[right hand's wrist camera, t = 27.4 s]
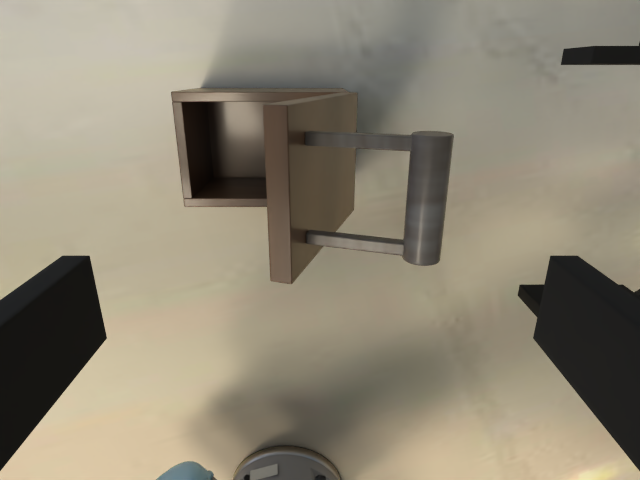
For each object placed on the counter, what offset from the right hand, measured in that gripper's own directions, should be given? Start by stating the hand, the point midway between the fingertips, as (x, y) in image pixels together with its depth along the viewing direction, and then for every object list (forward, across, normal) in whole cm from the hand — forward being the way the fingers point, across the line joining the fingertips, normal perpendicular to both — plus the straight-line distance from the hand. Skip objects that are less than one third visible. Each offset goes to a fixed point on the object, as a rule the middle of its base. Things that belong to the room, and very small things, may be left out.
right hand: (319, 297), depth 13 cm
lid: (+17, +1, 0) cm, 17 cm away
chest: (+33, +5, 0) cm, 33 cm away
